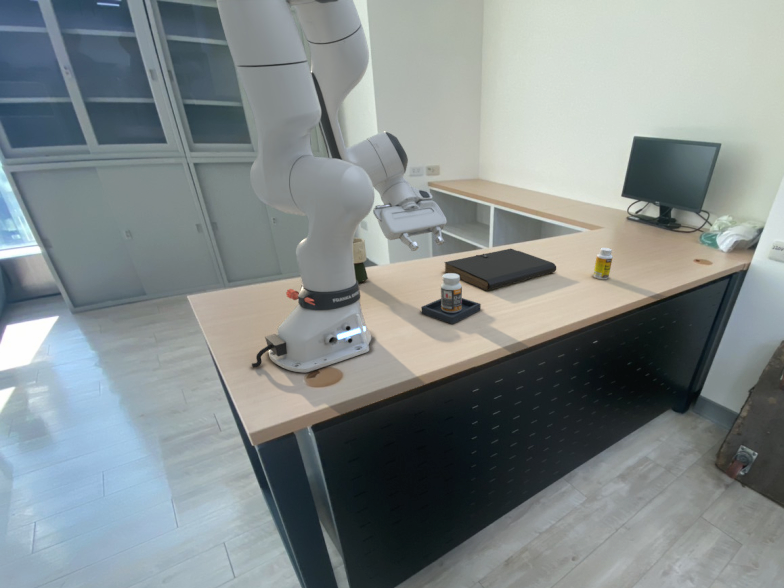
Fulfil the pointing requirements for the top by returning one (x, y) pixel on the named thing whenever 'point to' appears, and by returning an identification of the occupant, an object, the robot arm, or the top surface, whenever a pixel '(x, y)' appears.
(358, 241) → the character mug
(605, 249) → the supplement bottle
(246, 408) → the top surface
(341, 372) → the top surface
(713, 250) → the top surface
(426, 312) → the tray
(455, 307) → the pill bottle
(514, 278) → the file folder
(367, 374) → the top surface
